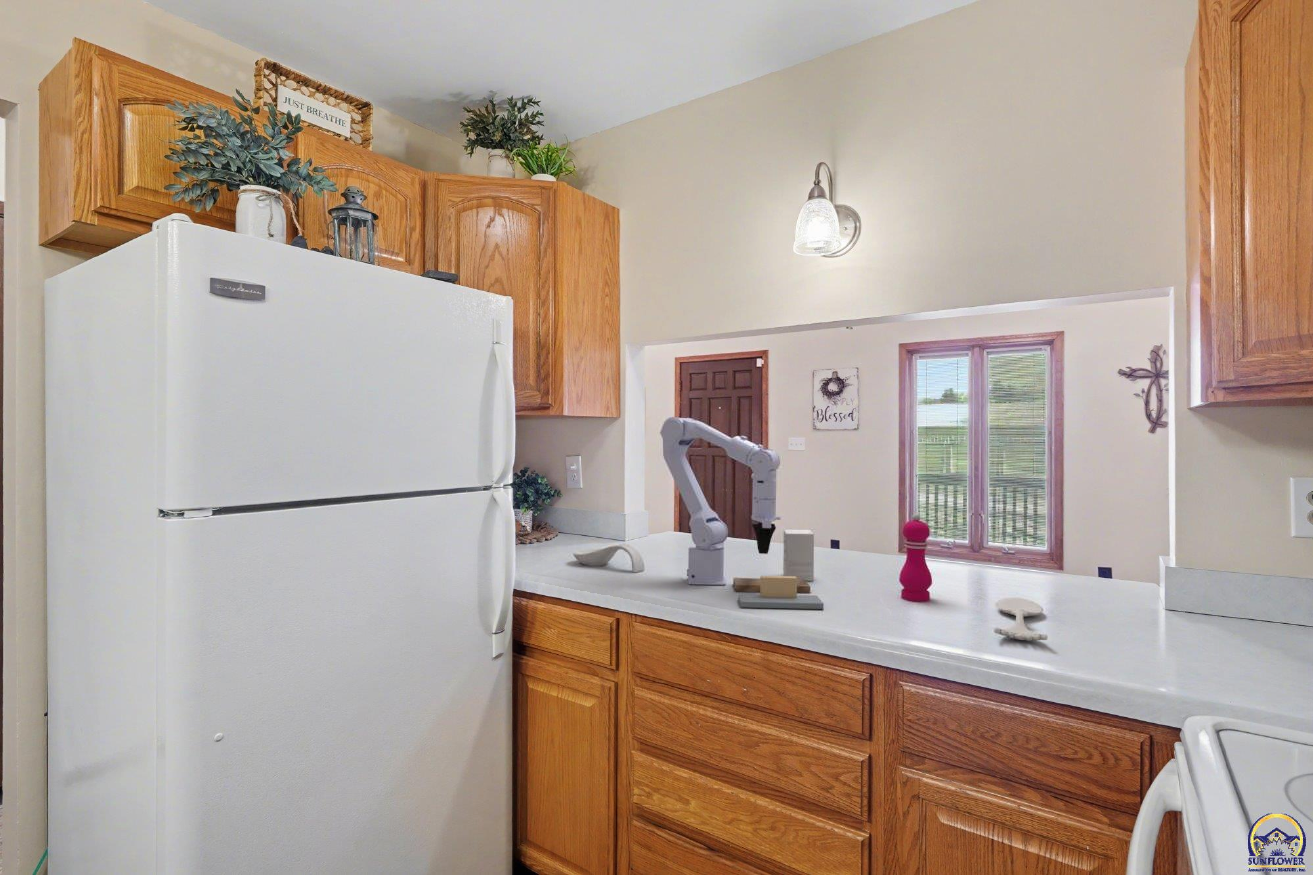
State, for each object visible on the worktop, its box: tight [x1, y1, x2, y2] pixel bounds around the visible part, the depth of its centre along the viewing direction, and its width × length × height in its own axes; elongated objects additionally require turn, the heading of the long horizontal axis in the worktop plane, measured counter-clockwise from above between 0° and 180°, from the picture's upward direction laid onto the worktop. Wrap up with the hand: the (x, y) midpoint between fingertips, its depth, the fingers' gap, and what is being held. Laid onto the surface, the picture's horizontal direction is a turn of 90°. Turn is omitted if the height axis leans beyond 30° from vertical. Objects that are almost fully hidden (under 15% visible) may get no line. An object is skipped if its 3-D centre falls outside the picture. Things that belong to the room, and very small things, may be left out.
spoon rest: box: [573, 543, 645, 574], centre depth 188 cm, size 24×12×7 cm, turn 52°
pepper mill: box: [898, 513, 933, 602], centre depth 154 cm, size 7×7×20 cm
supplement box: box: [782, 529, 815, 582], centre depth 175 cm, size 7×7×13 cm
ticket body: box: [732, 577, 811, 594], centre depth 163 cm, size 18×8×2 cm, turn 87°
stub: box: [737, 575, 825, 610], centre depth 147 cm, size 18×7×6 cm, turn 87°
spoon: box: [993, 597, 1048, 641], centre depth 133 cm, size 9×32×4 cm, turn 151°
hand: (763, 553), depth 162 cm, fingers closed
